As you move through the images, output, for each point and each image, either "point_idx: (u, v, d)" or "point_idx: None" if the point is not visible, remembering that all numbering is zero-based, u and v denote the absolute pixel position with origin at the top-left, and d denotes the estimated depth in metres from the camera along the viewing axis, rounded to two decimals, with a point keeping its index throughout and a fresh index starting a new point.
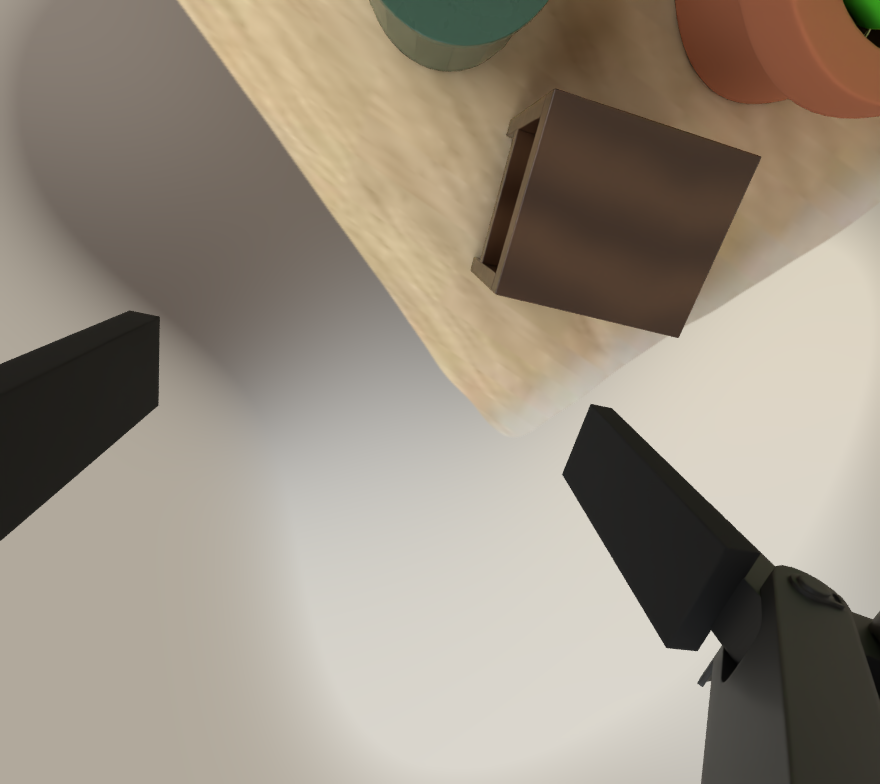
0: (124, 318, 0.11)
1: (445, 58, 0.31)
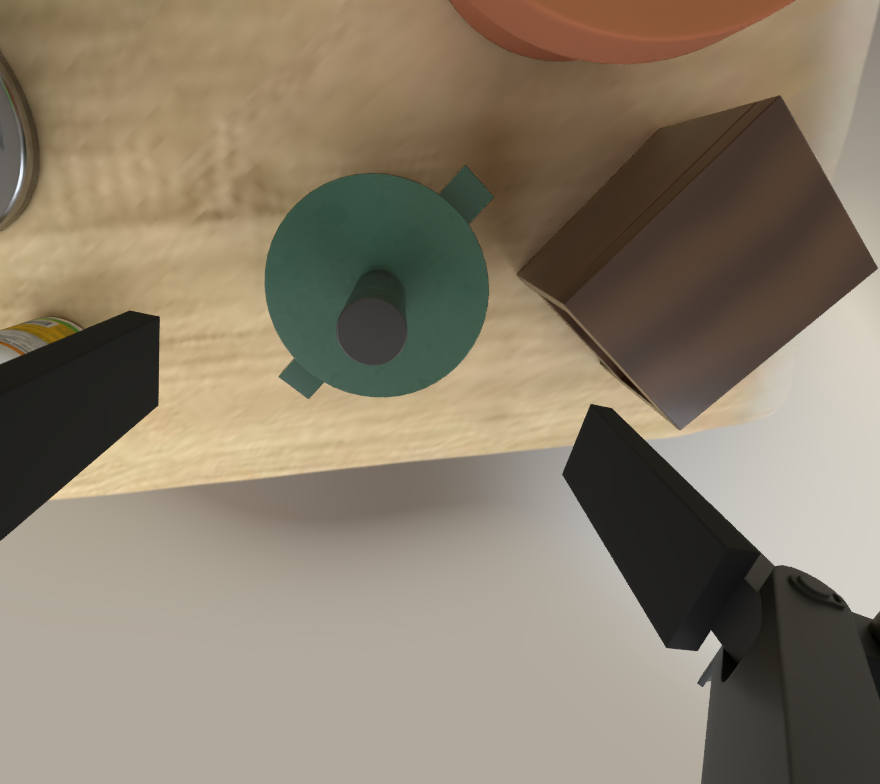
0: (124, 318, 0.11)
1: None
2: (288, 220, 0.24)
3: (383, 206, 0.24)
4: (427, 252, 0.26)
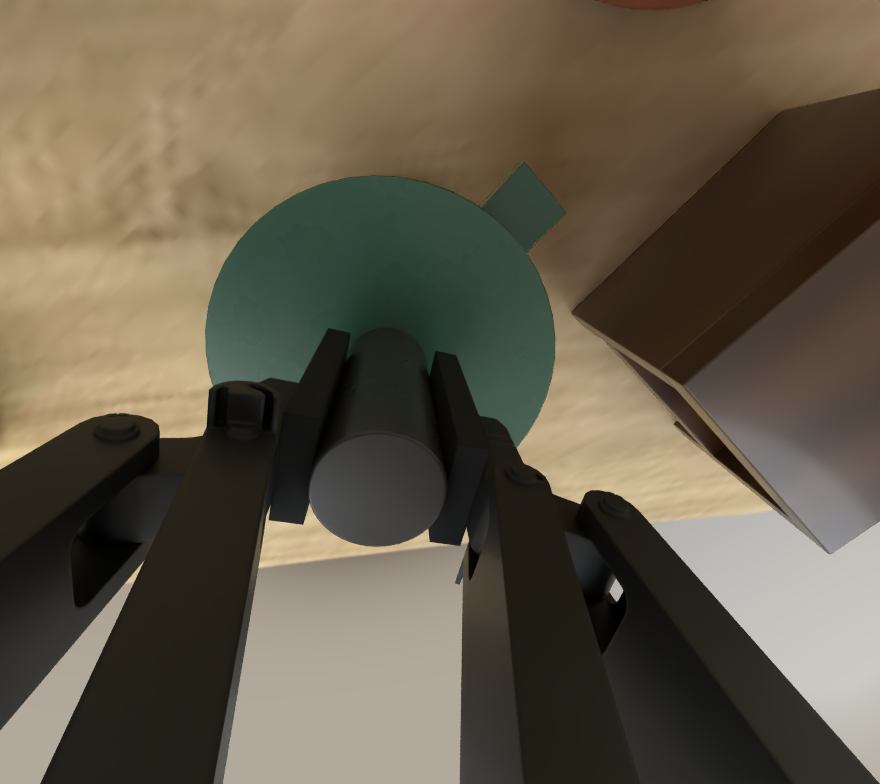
0: (331, 335, 0.14)
1: None
2: (239, 252, 0.15)
3: (394, 229, 0.15)
4: (462, 300, 0.16)
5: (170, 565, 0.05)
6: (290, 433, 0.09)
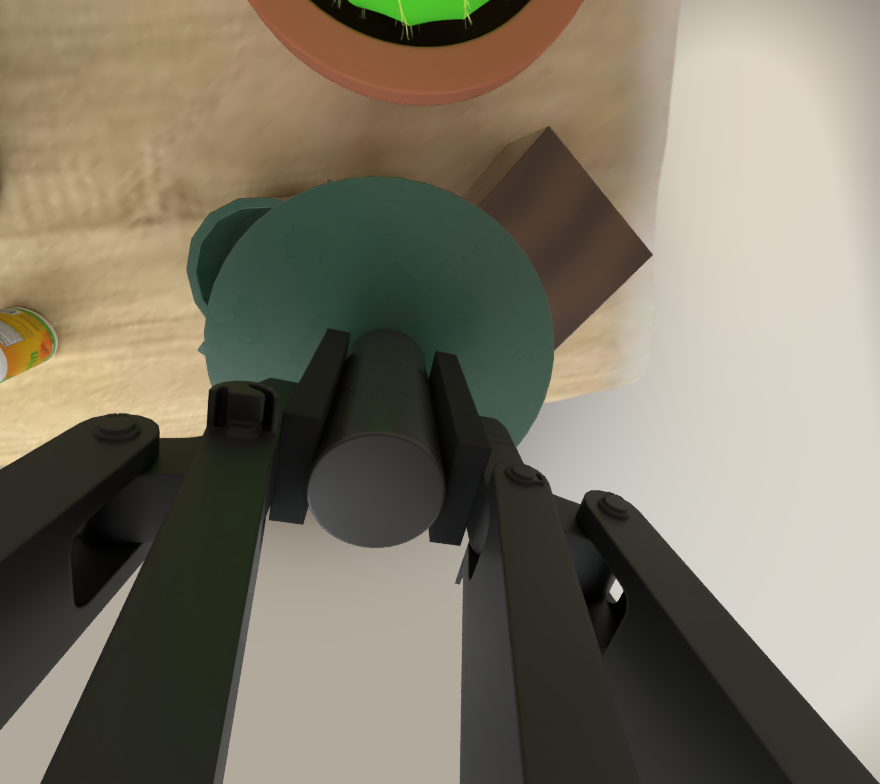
0: (331, 334, 0.14)
1: None
2: (238, 253, 0.15)
3: (393, 230, 0.15)
4: (461, 301, 0.16)
5: (170, 565, 0.05)
6: (290, 433, 0.09)
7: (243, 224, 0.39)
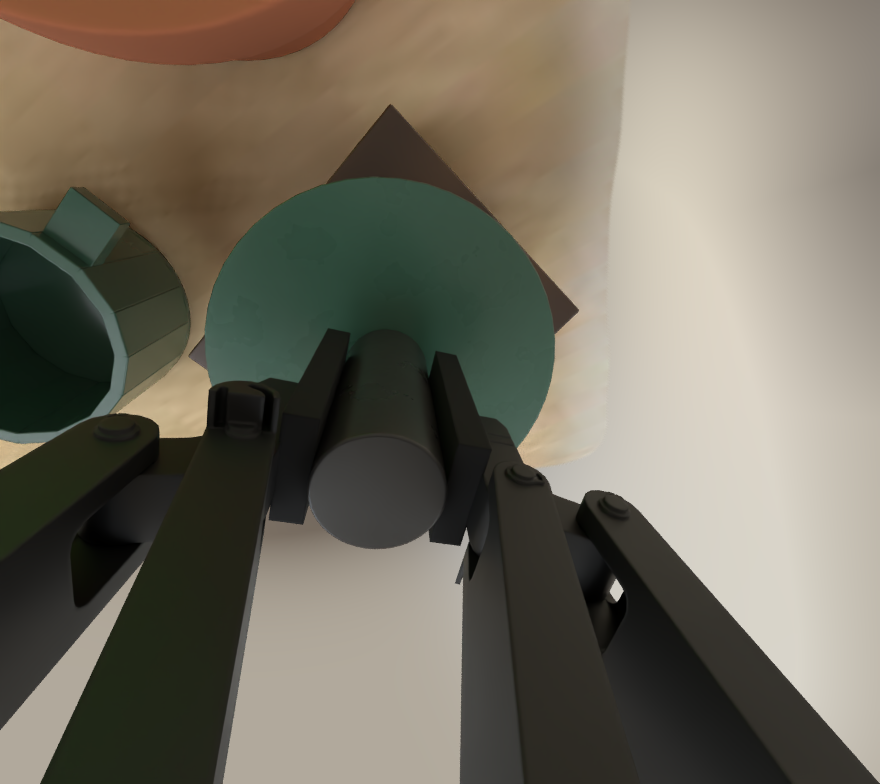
0: (331, 335, 0.14)
1: (159, 371, 0.28)
2: (238, 253, 0.15)
3: (393, 230, 0.15)
4: (462, 302, 0.16)
5: (170, 565, 0.05)
6: (290, 433, 0.09)
7: (12, 246, 0.28)
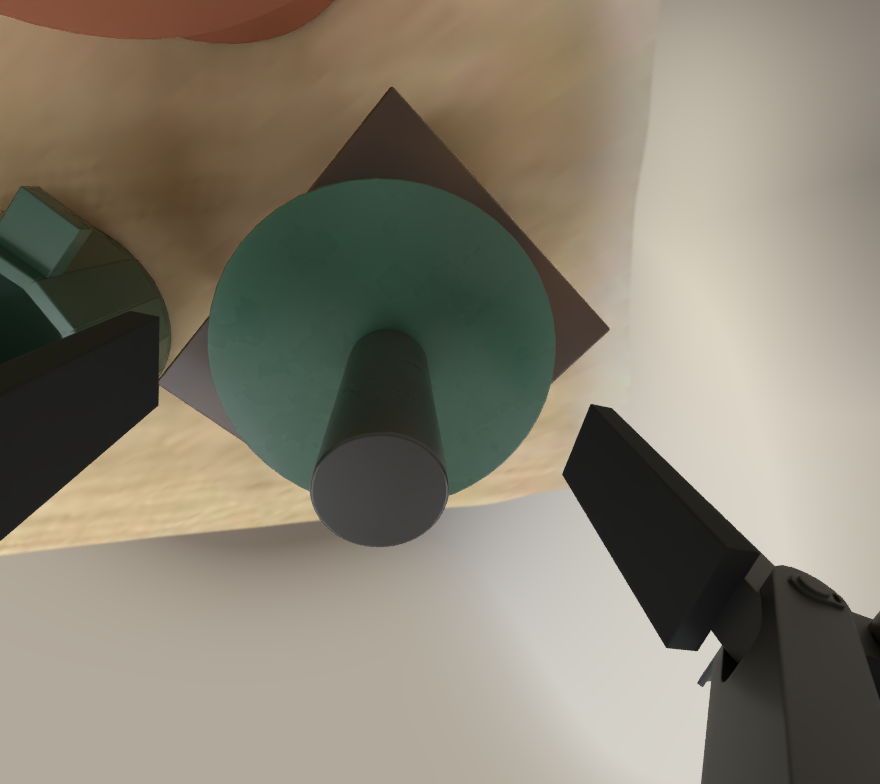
0: (124, 318, 0.11)
1: None
2: (241, 254, 0.15)
3: (395, 231, 0.15)
4: (463, 302, 0.16)
5: None
6: None
7: None
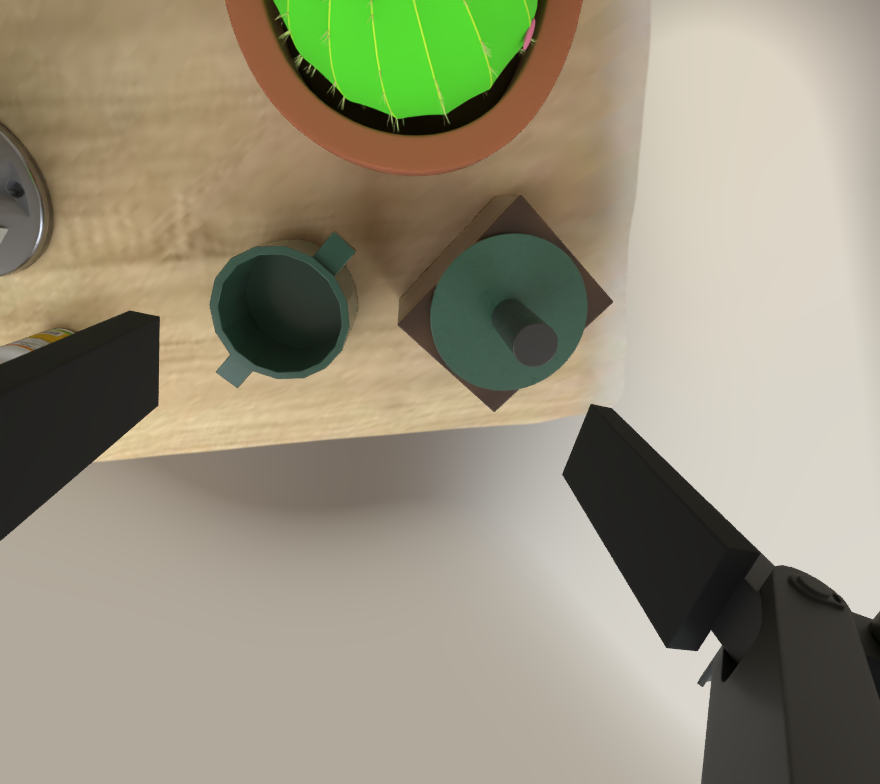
0: (124, 318, 0.11)
1: None
2: (453, 265, 0.35)
3: (519, 255, 0.35)
4: (546, 287, 0.36)
5: None
6: None
7: (259, 261, 0.45)
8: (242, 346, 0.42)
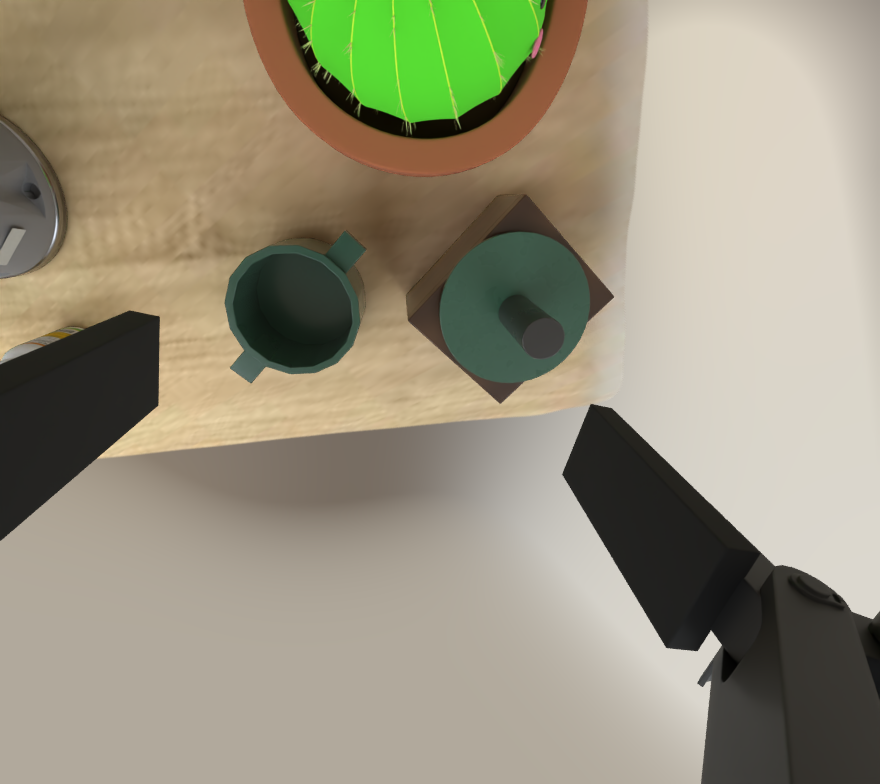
0: (124, 318, 0.11)
1: None
2: (462, 262, 0.36)
3: (525, 253, 0.36)
4: (550, 283, 0.38)
5: None
6: None
7: (270, 260, 0.46)
8: (255, 342, 0.43)
